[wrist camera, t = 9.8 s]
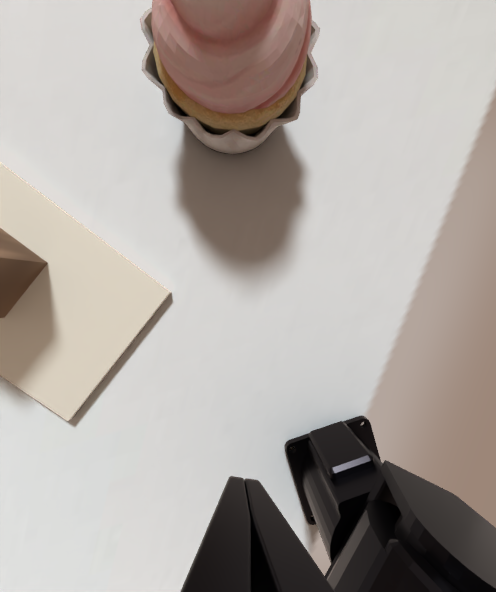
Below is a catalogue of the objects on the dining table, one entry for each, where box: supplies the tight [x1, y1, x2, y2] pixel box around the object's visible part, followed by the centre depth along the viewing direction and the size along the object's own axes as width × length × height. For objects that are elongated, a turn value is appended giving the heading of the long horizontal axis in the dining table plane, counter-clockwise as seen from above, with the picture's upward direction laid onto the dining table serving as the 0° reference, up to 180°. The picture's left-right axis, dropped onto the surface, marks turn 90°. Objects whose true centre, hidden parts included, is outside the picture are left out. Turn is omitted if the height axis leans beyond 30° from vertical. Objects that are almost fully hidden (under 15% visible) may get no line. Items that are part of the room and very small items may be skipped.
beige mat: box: [0, 162, 171, 421], centre depth 18 cm, size 19×11×1 cm, turn 52°
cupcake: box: [140, 0, 320, 154], centre depth 14 cm, size 9×9×10 cm
